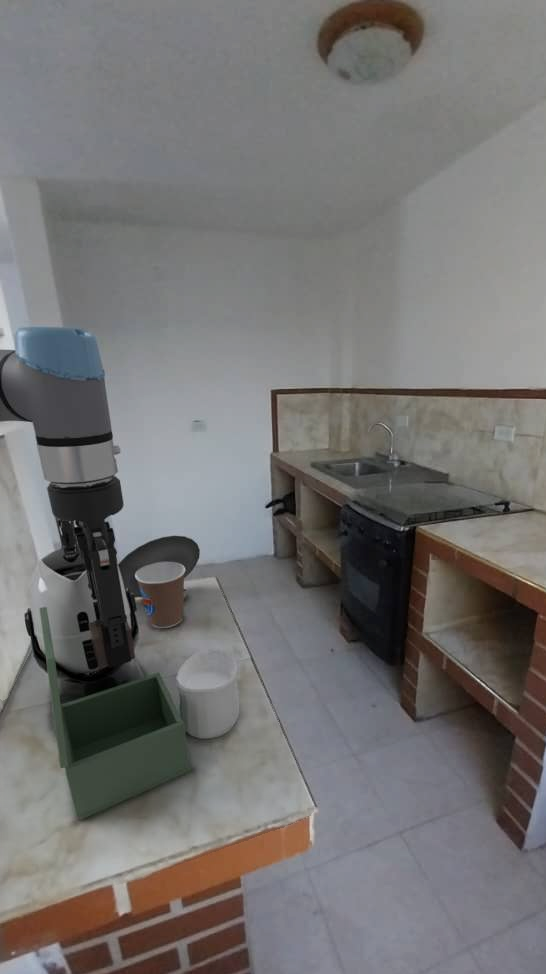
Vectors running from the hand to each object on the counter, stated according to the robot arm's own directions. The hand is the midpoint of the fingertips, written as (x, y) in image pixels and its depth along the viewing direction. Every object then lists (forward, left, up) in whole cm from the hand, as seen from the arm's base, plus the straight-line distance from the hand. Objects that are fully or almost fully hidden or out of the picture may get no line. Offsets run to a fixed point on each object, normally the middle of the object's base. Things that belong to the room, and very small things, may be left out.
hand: (115, 652), depth 60 cm
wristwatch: (-45, +18, -18) cm, 52 cm away
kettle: (-18, -2, -19) cm, 26 cm away
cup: (-2, +12, -19) cm, 23 cm away
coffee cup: (-35, +14, -19) cm, 42 cm away
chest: (0, -1, -19) cm, 19 cm away
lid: (0, -7, -2) cm, 8 cm away
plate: (-42, +16, -11) cm, 46 cm away
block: (0, 0, 0) cm, 0 cm away
